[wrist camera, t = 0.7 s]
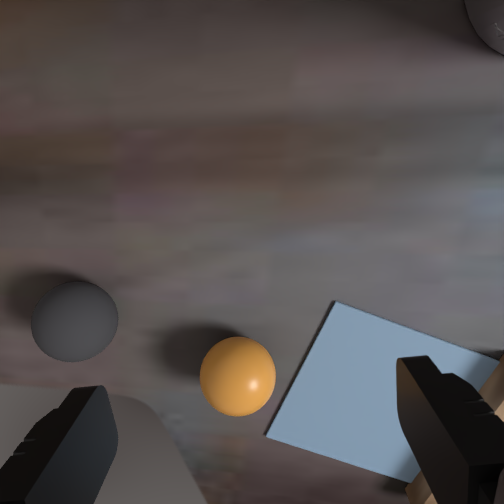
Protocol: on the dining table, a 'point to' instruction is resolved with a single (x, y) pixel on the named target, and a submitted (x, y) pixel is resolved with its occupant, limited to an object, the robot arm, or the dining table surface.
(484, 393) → the oak rail
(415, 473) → the light blue square plate
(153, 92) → the dining table surface
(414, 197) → the dining table surface
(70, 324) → the dark gray ball
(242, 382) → the orange ball
